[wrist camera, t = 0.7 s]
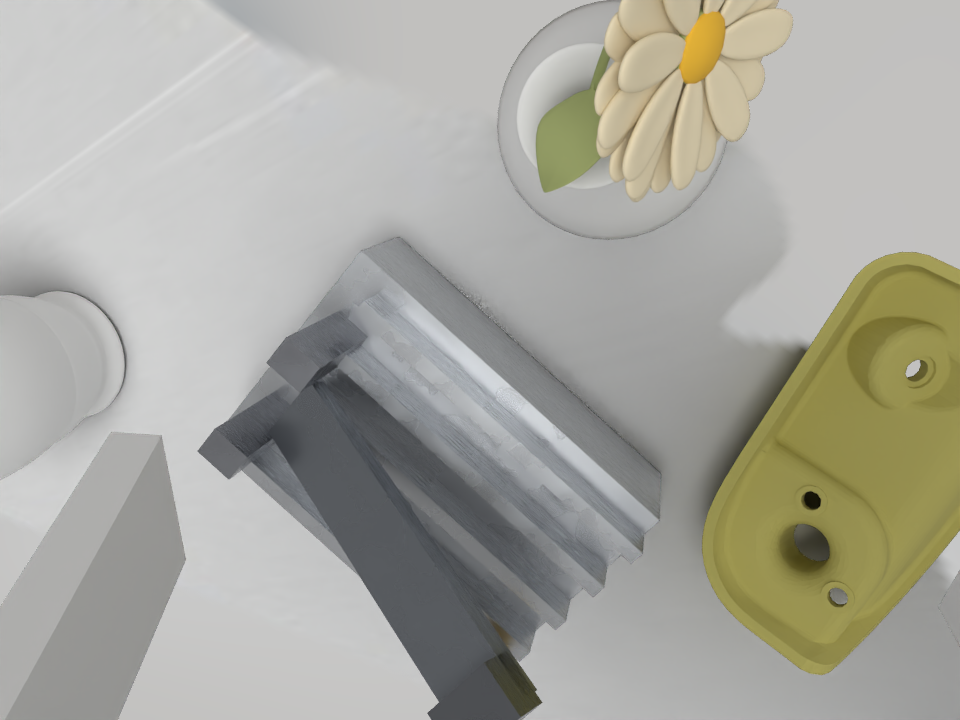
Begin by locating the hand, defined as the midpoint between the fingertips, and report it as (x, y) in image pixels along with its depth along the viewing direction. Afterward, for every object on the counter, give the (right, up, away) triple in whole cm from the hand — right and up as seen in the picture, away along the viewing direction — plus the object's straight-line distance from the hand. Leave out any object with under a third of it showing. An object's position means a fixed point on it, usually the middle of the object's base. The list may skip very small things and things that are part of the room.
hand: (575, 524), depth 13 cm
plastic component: (+19, -1, +30) cm, 36 cm away
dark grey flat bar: (-5, -6, +23) cm, 24 cm away
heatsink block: (-3, -2, +35) cm, 35 cm away
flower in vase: (+6, +15, +28) cm, 33 cm away
